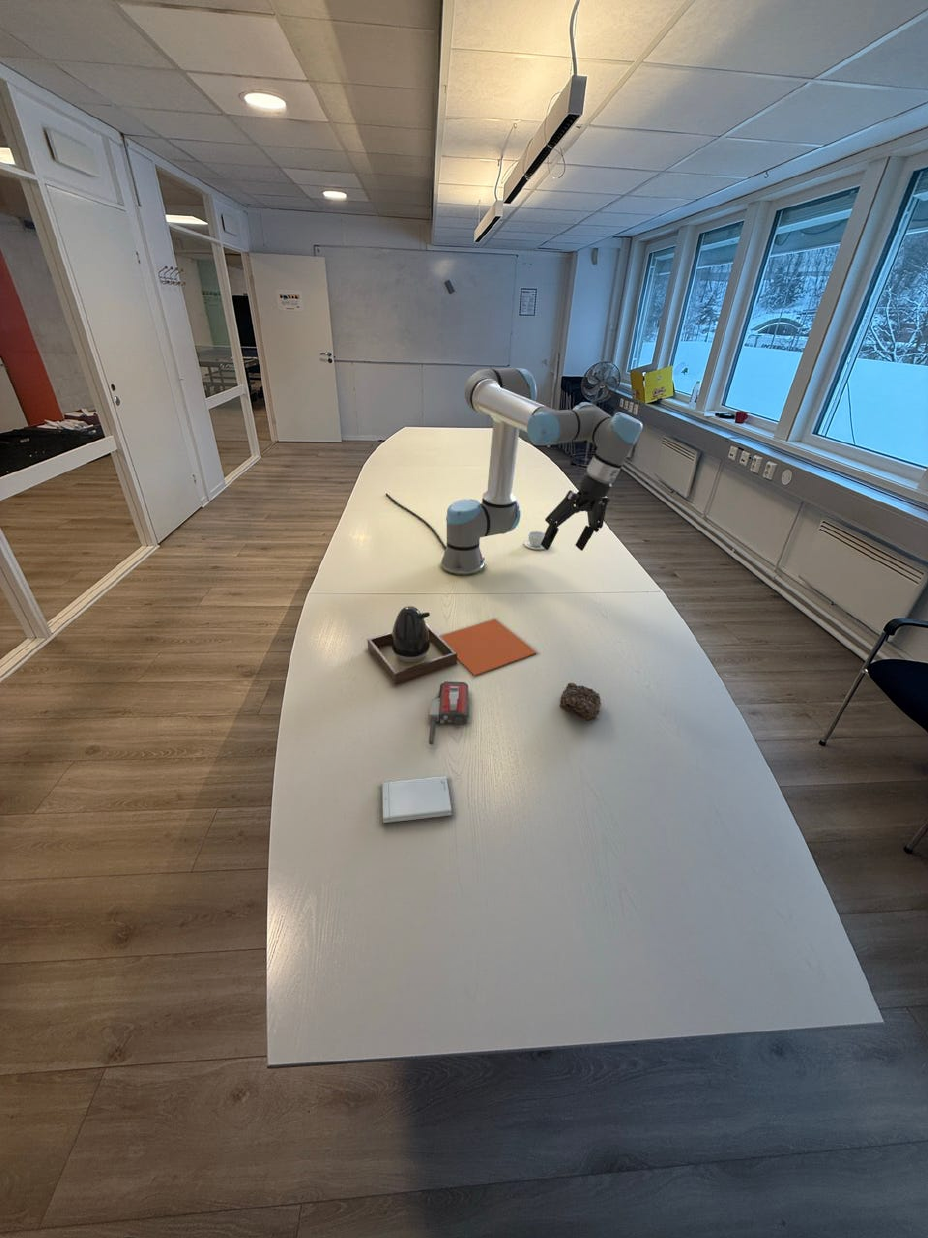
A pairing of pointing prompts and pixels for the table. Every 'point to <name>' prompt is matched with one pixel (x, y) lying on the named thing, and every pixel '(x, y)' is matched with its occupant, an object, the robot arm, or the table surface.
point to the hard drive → (415, 799)
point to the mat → (486, 646)
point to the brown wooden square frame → (416, 670)
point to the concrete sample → (581, 701)
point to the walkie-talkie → (449, 706)
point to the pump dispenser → (410, 635)
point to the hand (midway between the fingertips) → (562, 547)
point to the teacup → (535, 540)
